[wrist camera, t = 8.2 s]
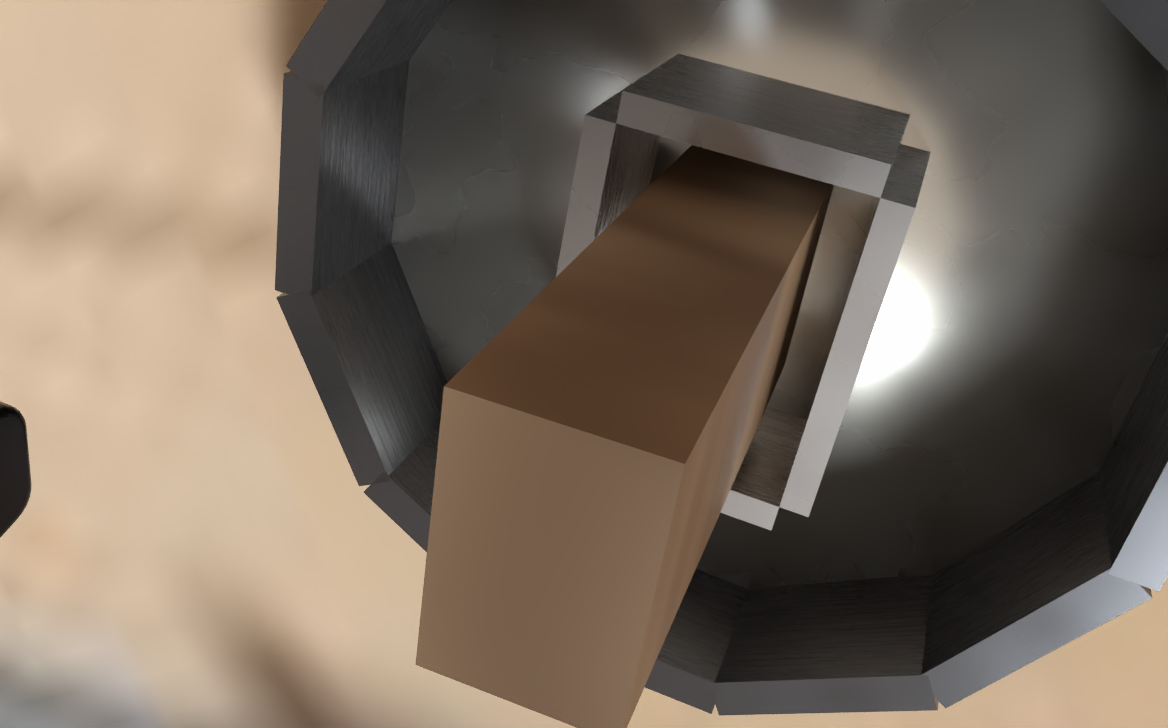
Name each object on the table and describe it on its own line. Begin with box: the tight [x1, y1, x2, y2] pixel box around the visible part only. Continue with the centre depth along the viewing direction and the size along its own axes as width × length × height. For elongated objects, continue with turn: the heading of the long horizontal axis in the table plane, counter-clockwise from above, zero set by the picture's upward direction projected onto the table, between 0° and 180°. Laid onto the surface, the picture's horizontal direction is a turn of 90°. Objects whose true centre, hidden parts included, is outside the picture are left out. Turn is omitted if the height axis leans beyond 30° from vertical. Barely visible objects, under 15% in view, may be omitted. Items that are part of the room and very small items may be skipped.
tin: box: [275, 0, 1168, 715], centre depth 15 cm, size 12×12×3 cm
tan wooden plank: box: [416, 145, 834, 728], centre depth 13 cm, size 2×3×8 cm, turn 172°
